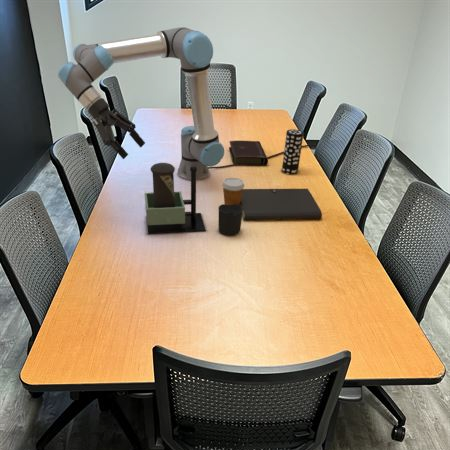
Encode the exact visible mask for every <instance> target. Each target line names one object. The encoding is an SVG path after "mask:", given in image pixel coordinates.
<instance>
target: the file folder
mask: <svg viewBox="0 0 450 450" xmlns="http://www.w3.org/2000/svg"><path fill="white" fill-rule="evenodd" d="M240 206H241V207H242V208H243V212H242V220H244V221H265V220H271V221H273V220H322V217H323V212H322V210H321V207H320V206H319V204H318V203H317V201H316V199H315V198H314V196H313V194H312V193H311V192H310V190H309V188H243V192H242V197H241V201H240Z"/></svg>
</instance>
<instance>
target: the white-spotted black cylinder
mask: <svg viewBox="0 0 450 450" xmlns="http://www.w3.org/2000/svg"><path fill="white" fill-rule="evenodd" d="M304 134H305V133H304V131H302V130H300V129H292V128H291V129H288V130H286V132H285V142H284V151H283V152H284V153H283V156H282V166H281V172H282V173H283V174H285V175H291V176H292V175H297V174H298V173H299V167H300V161H301V156H302V155H301V154H302V148H303V147H302V146H303V141H304Z"/></svg>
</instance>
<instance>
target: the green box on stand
mask: <svg viewBox="0 0 450 450" xmlns="http://www.w3.org/2000/svg"><path fill="white" fill-rule="evenodd" d="M190 171H191V180H190V199H184V197H183V195H182V191H174V196H175V207H168V208H154V194H153V192H144V205H145V219H146V228H147V235H165V234H182V233H184V234H185V233H201V232H206V231H207V229H206V226H205V223H204V220H203V217H202V213H201V212H197V180H196V171H197V167H196V166H195V165H192V166H191V167H190ZM186 205H187V206H188V205H189V206H190V211H186Z"/></svg>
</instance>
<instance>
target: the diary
mask: <svg viewBox="0 0 450 450" xmlns="http://www.w3.org/2000/svg"><path fill="white" fill-rule="evenodd" d="M229 144H230V146H229V147H228V149H229V153H230V157H231V160H232V163H233V164H238V165H237V166H246V167H249V166H251V167H253V166H255V167H257V166H258V167H259V166H261V167H262V166H263V167H266V166H267V165H268V163H269V158H267V157H268V156H267V155H266V152H265V150H264V148H263V146H262V144H261V141H260V140H229Z"/></svg>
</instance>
